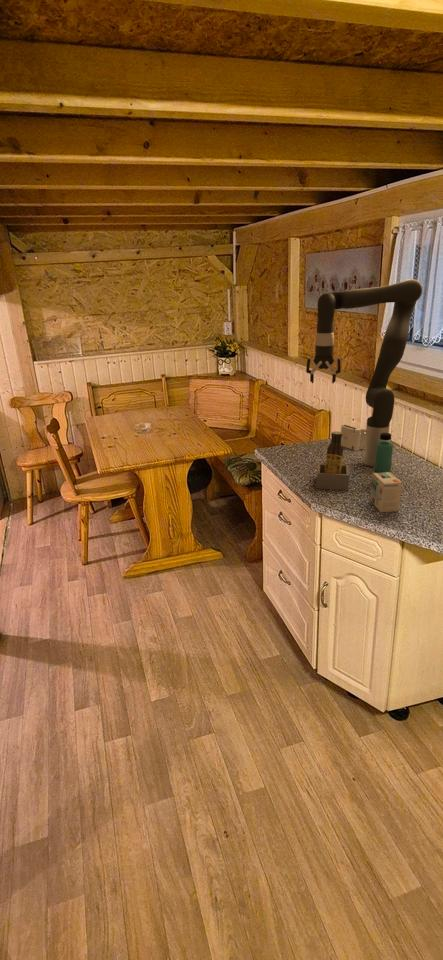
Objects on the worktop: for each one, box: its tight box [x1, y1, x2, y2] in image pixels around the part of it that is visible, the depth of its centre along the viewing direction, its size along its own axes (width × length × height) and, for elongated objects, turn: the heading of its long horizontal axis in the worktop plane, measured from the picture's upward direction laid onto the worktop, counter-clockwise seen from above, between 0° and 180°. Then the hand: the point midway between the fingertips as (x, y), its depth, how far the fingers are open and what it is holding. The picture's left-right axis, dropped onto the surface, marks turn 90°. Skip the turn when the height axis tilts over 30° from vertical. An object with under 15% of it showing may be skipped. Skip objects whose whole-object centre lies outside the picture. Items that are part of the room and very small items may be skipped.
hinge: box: [340, 424, 366, 451], centre depth 241 cm, size 14×5×10 cm, turn 44°
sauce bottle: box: [325, 431, 344, 474], centre depth 198 cm, size 6×6×20 cm
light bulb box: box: [369, 471, 403, 513], centre depth 179 cm, size 11×7×11 cm, turn 5°
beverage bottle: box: [373, 432, 394, 473], centre depth 198 cm, size 6×7×20 cm
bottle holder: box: [316, 463, 350, 491], centre depth 201 cm, size 12×12×6 cm
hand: (322, 383), depth 218 cm, fingers open, 8 cm apart
